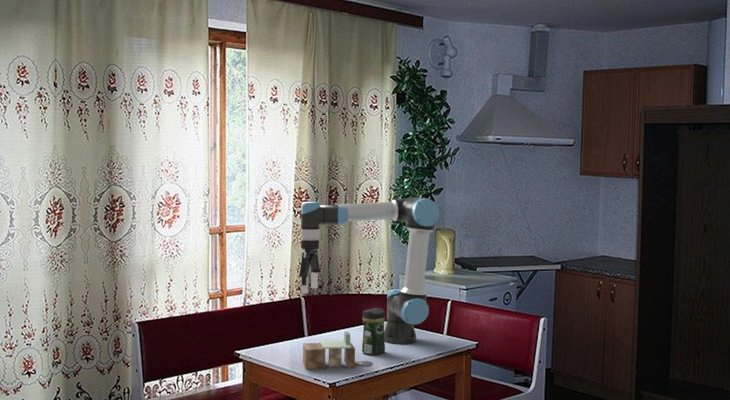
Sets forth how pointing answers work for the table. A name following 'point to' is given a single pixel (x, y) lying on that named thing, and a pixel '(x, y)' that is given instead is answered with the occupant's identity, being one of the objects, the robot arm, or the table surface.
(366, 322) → the coffee jar
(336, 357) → the block
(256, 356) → the table surface
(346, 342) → the cover
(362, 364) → the grey round disc
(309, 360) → the brown and beige stand
